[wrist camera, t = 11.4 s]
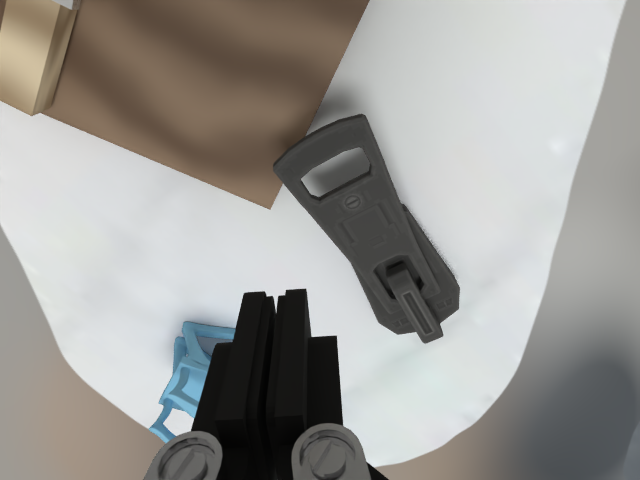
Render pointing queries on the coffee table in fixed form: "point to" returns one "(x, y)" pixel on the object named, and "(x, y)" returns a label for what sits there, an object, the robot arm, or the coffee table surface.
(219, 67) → the walnut board
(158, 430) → the chair
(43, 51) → the link
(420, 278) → the zipper pull
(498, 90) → the coffee table surface
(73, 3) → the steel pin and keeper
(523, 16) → the coffee table surface
